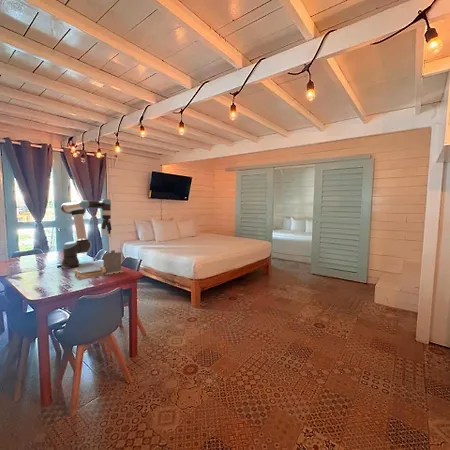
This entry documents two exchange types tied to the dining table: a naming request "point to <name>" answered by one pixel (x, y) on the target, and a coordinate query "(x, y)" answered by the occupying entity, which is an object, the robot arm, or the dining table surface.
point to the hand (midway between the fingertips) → (106, 236)
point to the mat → (113, 272)
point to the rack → (90, 273)
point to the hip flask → (112, 261)
